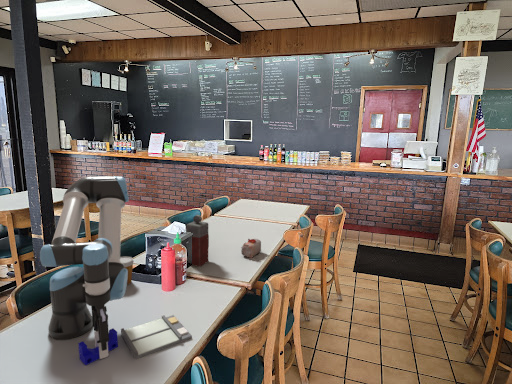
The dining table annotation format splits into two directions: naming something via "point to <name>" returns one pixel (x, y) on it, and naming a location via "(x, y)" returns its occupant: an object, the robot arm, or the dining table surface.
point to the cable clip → (93, 353)
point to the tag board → (155, 336)
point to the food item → (251, 248)
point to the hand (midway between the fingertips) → (101, 352)
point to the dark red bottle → (199, 240)
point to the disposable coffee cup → (128, 266)
